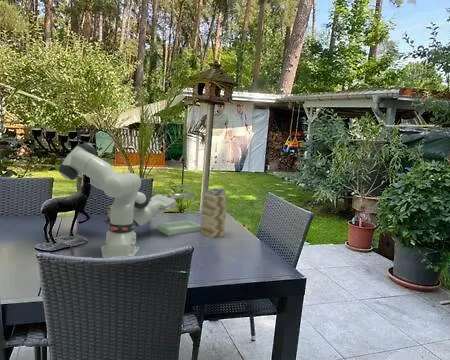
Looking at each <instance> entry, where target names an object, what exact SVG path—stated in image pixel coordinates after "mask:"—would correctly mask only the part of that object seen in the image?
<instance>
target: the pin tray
mask: <svg viewBox="0 0 450 360" xmlns="http://www.w3.org/2000/svg"><path fill="white" fill-rule="evenodd" d="M201 229H202V224H201V225H200V224H198V223H197V222H194V221H191V220H182V221H173V222H168V223H167V222H164V223H157V224H156V231H158V232H161V233H162V234H164V235H165V236H168V237H171V236H178V235H183V234H192V233H199V232H201ZM198 231H199V232H198Z"/></svg>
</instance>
